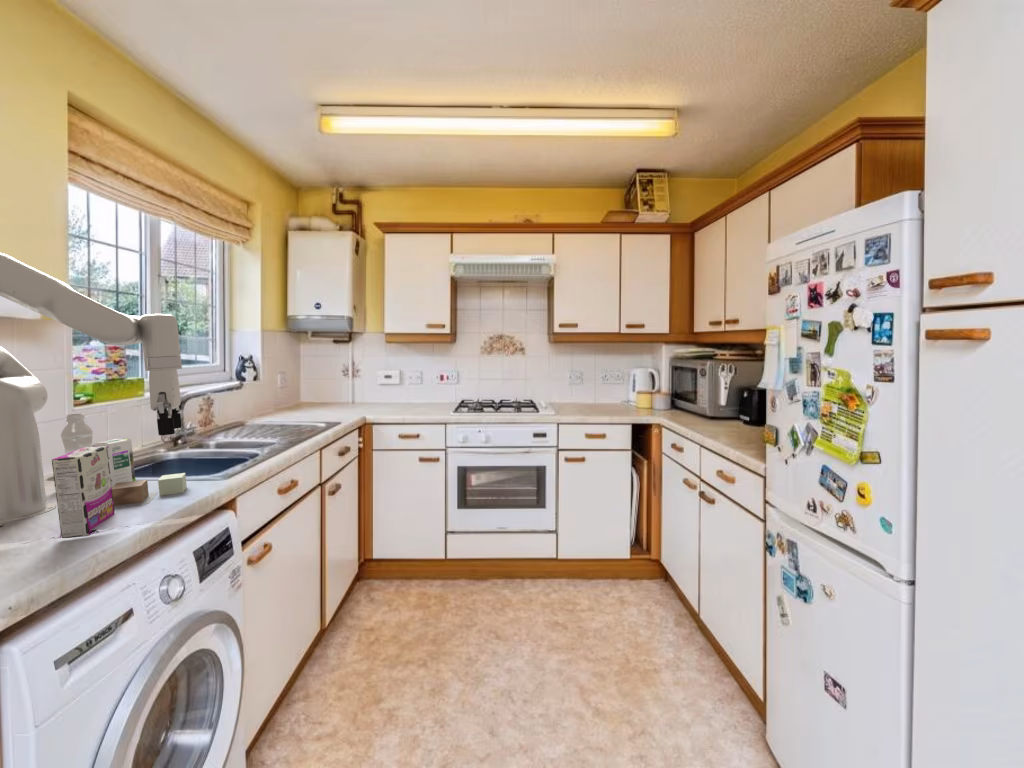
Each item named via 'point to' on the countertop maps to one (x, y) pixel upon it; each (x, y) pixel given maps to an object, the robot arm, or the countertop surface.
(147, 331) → the robot arm
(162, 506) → the countertop surface
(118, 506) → the plate
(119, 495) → the walnut block
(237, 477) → the countertop surface
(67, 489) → the candy bar box
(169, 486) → the sage cube
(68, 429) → the plastic bottle
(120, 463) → the syrup box
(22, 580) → the countertop surface
